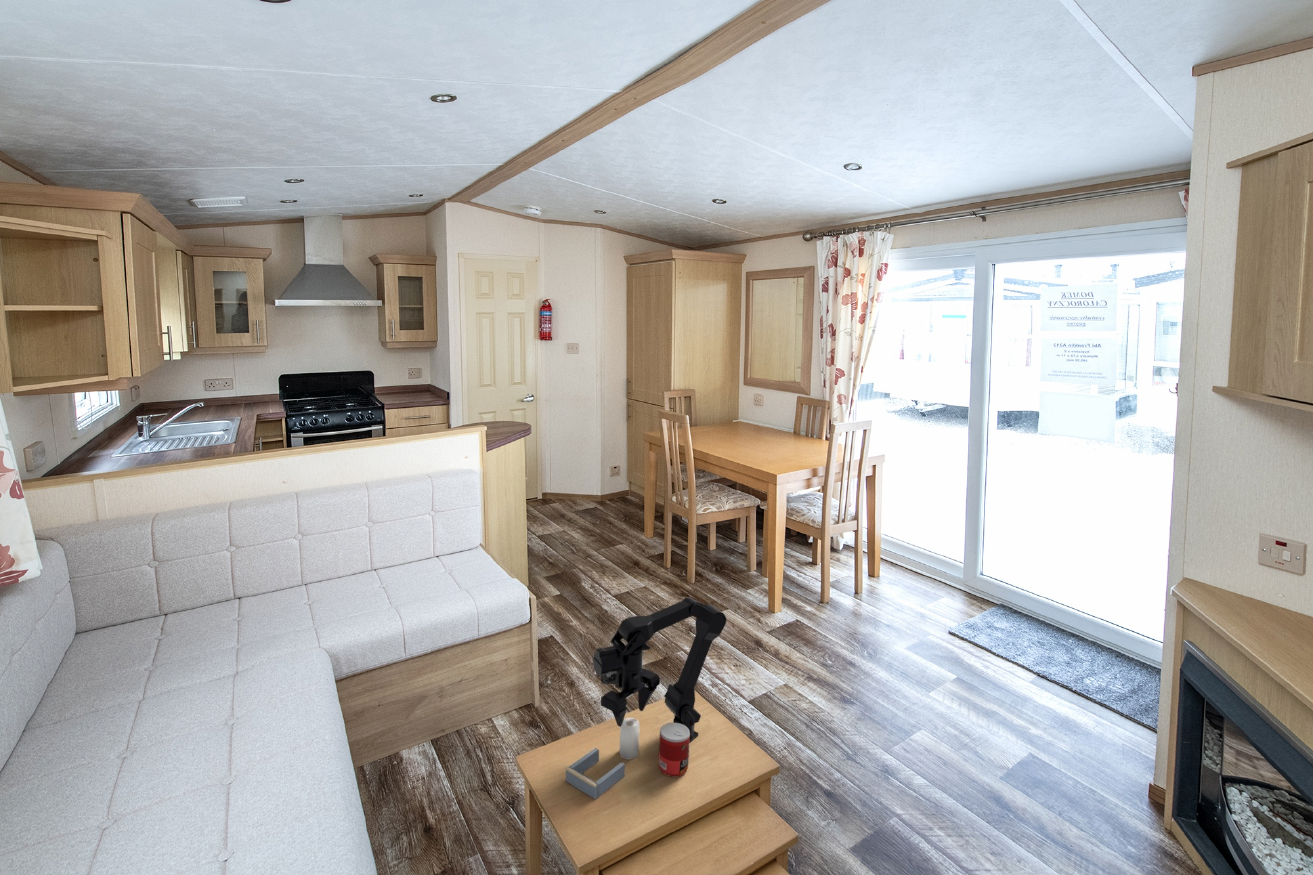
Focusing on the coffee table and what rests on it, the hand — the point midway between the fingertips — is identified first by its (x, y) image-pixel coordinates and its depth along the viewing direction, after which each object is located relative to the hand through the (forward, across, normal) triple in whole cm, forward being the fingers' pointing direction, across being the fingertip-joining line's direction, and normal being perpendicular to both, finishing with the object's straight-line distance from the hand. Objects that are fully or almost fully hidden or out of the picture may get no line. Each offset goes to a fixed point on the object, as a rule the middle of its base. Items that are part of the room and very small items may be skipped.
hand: (630, 718), depth 185 cm
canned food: (+11, -3, +13) cm, 17 cm away
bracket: (+10, +13, 0) cm, 17 cm away
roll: (+11, 0, 0) cm, 11 cm away
